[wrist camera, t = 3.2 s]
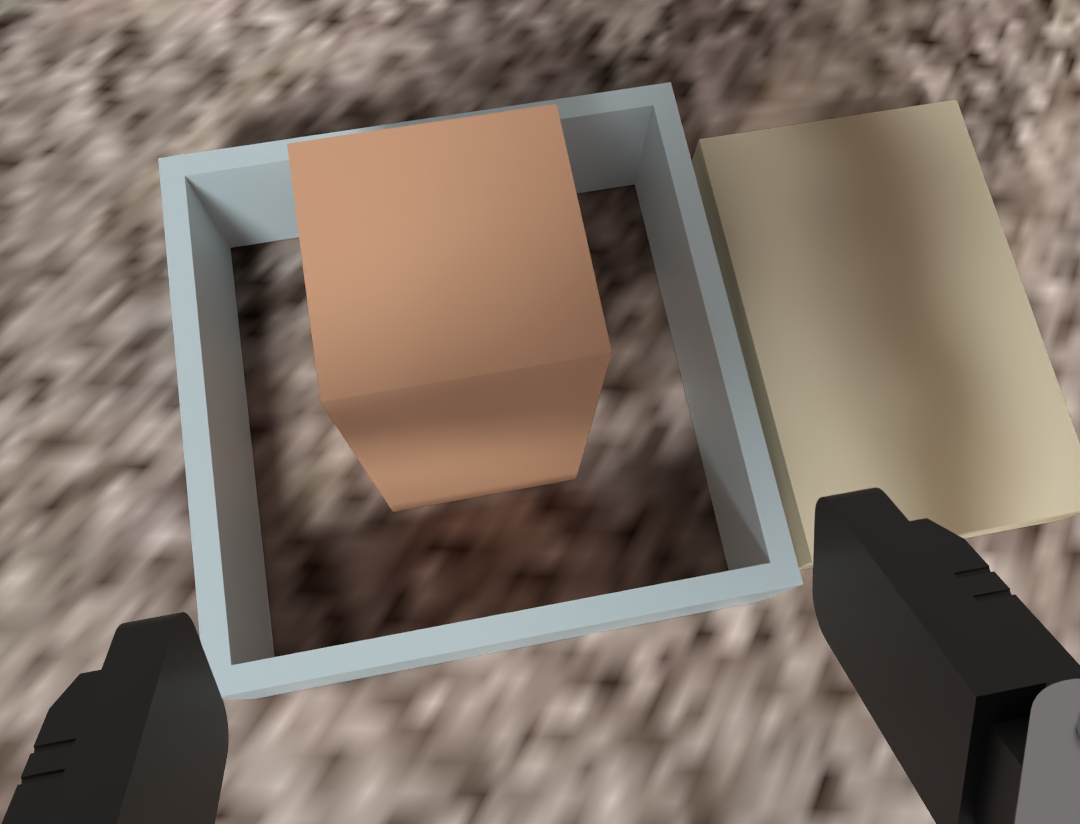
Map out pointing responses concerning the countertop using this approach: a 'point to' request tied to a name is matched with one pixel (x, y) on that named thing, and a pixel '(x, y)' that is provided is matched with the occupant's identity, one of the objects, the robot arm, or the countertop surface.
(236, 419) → the square frame
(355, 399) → the terracotta box
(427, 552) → the countertop surface
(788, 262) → the block
